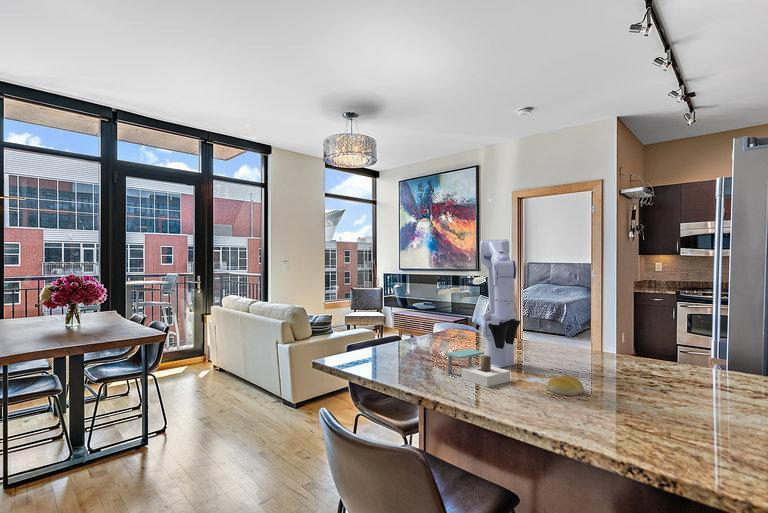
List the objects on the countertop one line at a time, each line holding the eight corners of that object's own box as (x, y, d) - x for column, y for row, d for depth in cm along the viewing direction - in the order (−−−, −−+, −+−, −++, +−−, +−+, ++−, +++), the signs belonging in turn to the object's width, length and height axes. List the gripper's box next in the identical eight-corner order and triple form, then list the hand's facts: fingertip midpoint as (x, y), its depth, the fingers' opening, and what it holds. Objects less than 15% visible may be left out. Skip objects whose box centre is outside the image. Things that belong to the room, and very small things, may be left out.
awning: (470, 368, 132) (470, 348, 132) (483, 372, 127) (483, 352, 127) (445, 373, 126) (445, 353, 126) (459, 377, 121) (459, 356, 121)
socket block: (484, 373, 126) (484, 363, 126) (510, 381, 118) (509, 371, 118) (461, 378, 120) (461, 368, 120) (487, 387, 112) (487, 376, 112)
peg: (487, 378, 121) (487, 355, 121) (492, 380, 118) (492, 357, 118) (479, 379, 120) (479, 356, 120) (484, 381, 117) (484, 358, 117)
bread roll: (541, 389, 110) (541, 375, 110) (564, 385, 114) (564, 371, 114) (566, 399, 103) (566, 383, 103) (590, 393, 107) (589, 379, 107)
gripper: (501, 298, 126) (501, 340, 126) (481, 301, 115) (481, 348, 115) (523, 299, 122) (523, 343, 122) (504, 303, 111) (505, 351, 110)
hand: (504, 346), depth 118 cm, fingers open, 7 cm apart
